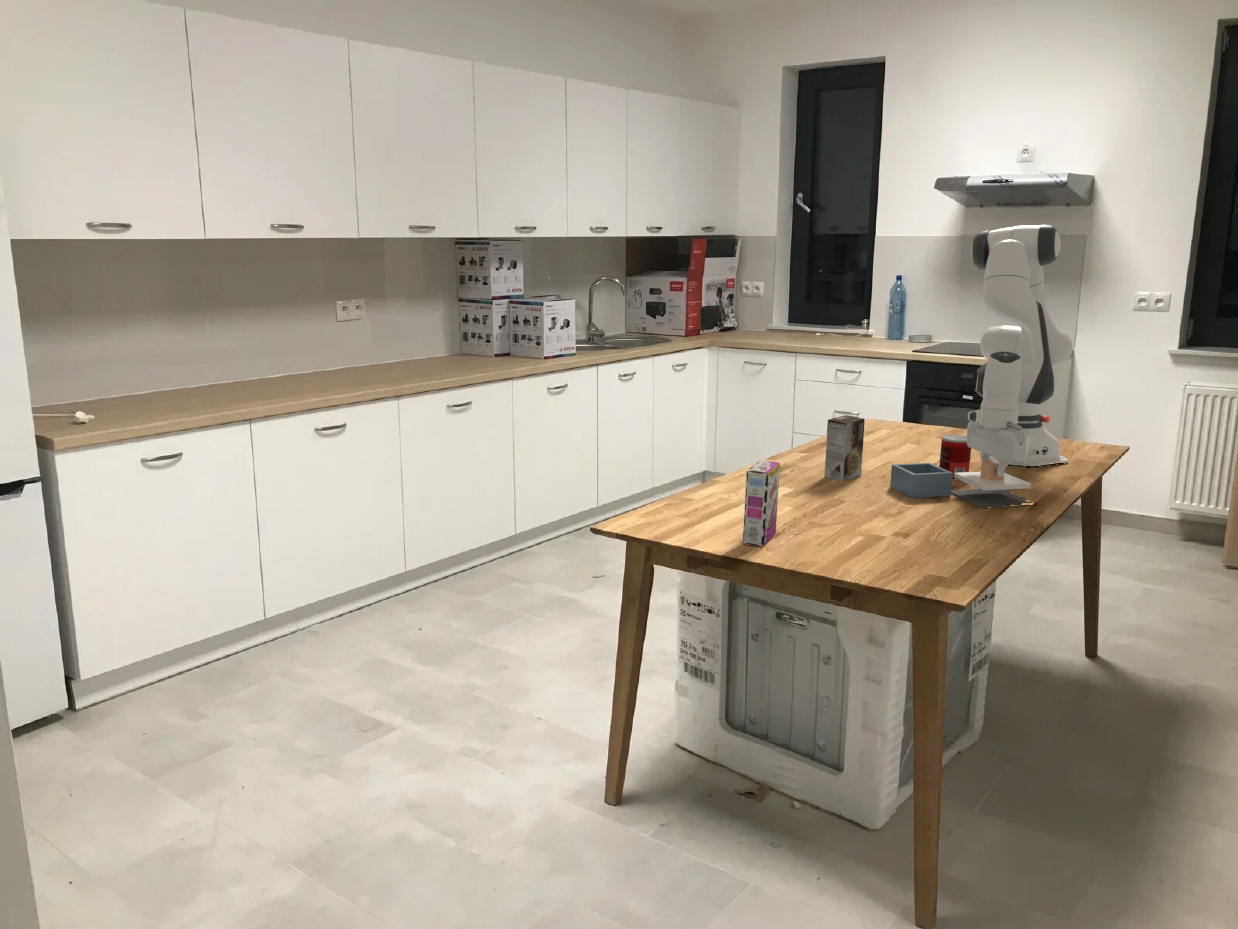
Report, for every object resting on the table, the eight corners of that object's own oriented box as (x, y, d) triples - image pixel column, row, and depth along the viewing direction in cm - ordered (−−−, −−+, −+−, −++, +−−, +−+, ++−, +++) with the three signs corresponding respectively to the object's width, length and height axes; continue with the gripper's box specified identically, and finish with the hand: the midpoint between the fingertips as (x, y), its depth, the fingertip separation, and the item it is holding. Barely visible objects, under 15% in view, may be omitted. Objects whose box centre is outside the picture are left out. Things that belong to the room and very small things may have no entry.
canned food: (973, 476, 265) (977, 437, 262) (960, 481, 259) (964, 441, 256) (946, 471, 270) (950, 433, 267) (933, 476, 264) (937, 437, 261)
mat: (999, 489, 252) (999, 487, 251) (1035, 505, 237) (1036, 503, 237) (947, 492, 248) (947, 490, 248) (981, 508, 234) (981, 506, 234)
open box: (927, 484, 256) (929, 462, 254) (950, 495, 245) (952, 472, 244) (890, 486, 253) (891, 464, 252) (911, 498, 243) (913, 474, 241)
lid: (999, 475, 249) (1001, 455, 248) (1030, 488, 237) (1032, 467, 236) (953, 477, 247) (955, 457, 245) (983, 490, 234) (985, 469, 233)
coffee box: (841, 471, 269) (845, 414, 265) (861, 475, 264) (866, 418, 260) (823, 477, 262) (826, 418, 259) (843, 481, 258) (847, 422, 254)
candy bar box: (764, 548, 204) (768, 473, 200) (742, 545, 206) (745, 470, 202) (777, 533, 214) (781, 461, 210) (755, 530, 216) (758, 459, 212)
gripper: (1036, 426, 229) (1029, 482, 232) (986, 411, 248) (980, 463, 251) (1012, 427, 227) (1006, 484, 231) (964, 411, 247) (959, 464, 250)
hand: (992, 473), depth 241 cm, fingers closed on lid, 4 cm apart
